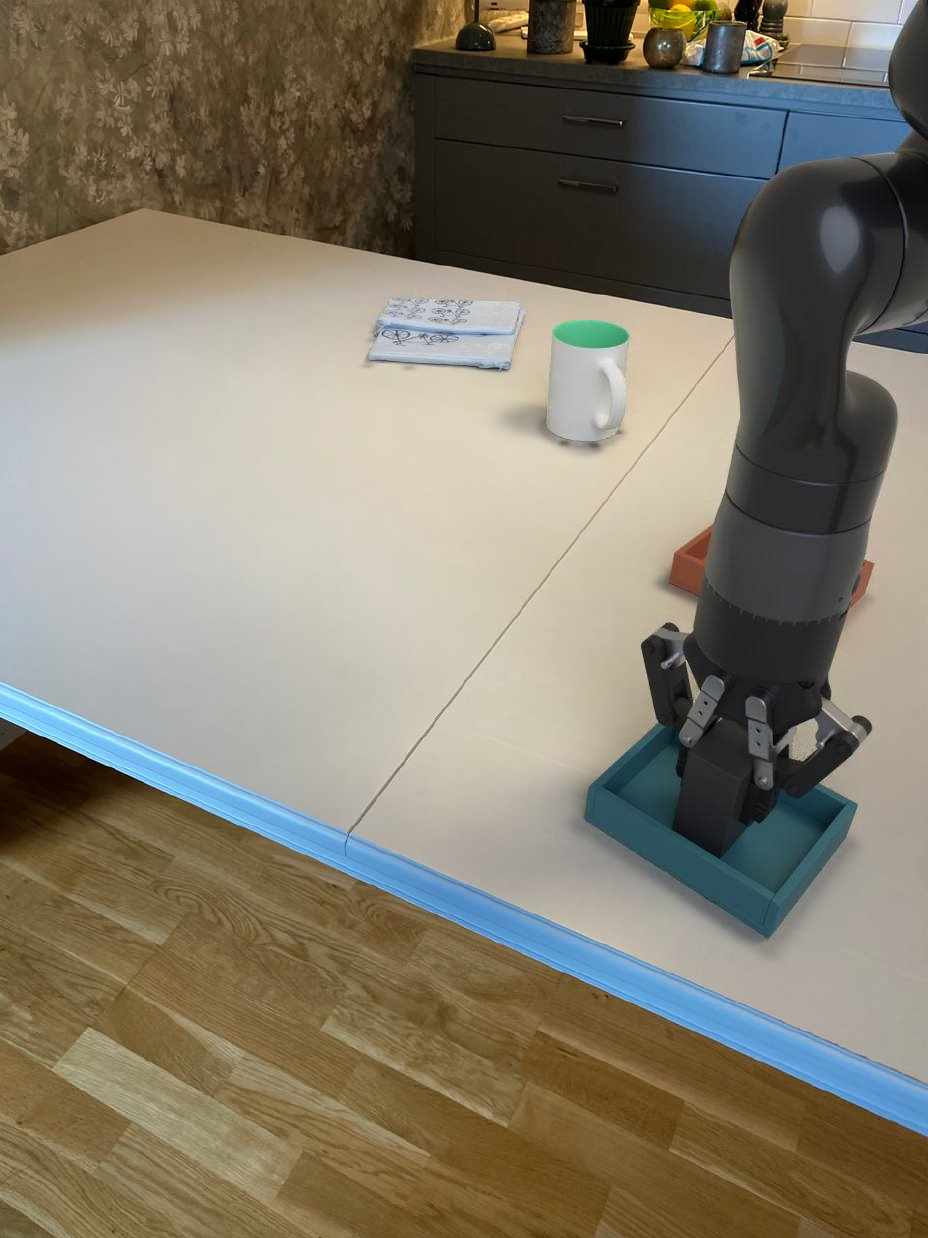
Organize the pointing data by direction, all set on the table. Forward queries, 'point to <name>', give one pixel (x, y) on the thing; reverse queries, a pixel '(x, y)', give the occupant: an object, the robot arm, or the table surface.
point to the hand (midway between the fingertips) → (722, 798)
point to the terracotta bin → (693, 560)
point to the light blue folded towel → (448, 332)
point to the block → (715, 789)
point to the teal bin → (752, 867)
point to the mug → (587, 380)
